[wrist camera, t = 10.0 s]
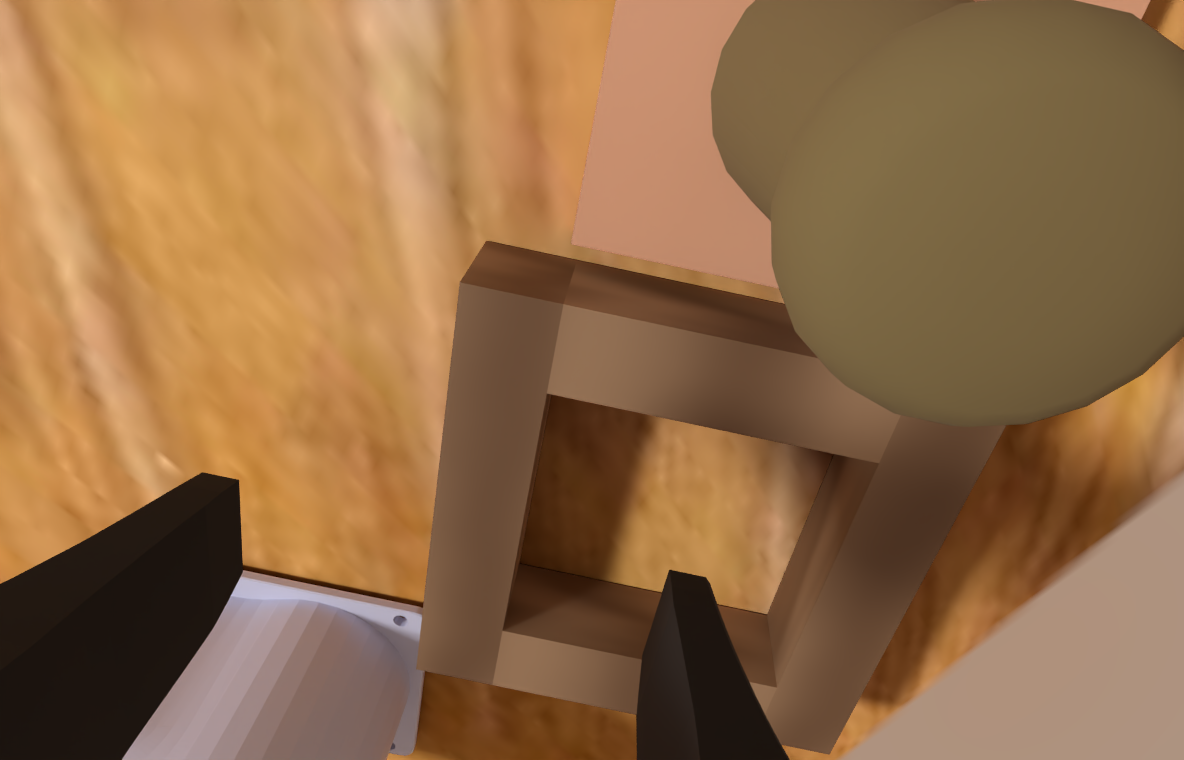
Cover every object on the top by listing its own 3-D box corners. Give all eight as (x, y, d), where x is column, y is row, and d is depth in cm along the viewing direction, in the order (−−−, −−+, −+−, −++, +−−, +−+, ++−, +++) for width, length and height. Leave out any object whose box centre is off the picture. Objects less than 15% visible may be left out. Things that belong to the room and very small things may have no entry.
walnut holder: (440, 601, 28) (415, 669, 25) (486, 240, 21) (460, 282, 19) (814, 678, 28) (829, 754, 25) (977, 345, 21) (1019, 400, 19)
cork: (850, -121, 16) (1115, -220, 6) (1044, 78, 17) (1499, 242, 8) (656, 119, 19) (636, 306, 9) (838, 275, 20) (990, 580, 10)
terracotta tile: (574, 233, 21) (571, 244, 20) (671, -292, 16) (671, -303, 15) (977, 320, 21) (987, 332, 20) (1212, -172, 16) (1237, -178, 15)
